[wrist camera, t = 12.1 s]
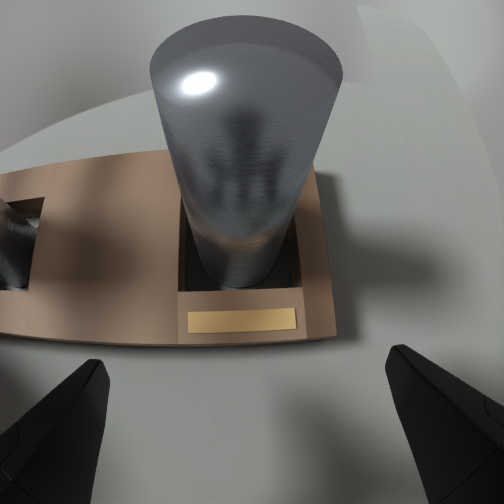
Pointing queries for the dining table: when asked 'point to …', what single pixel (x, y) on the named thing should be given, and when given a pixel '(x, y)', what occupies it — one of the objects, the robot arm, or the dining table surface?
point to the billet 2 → (243, 132)
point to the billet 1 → (15, 247)
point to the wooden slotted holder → (148, 263)
